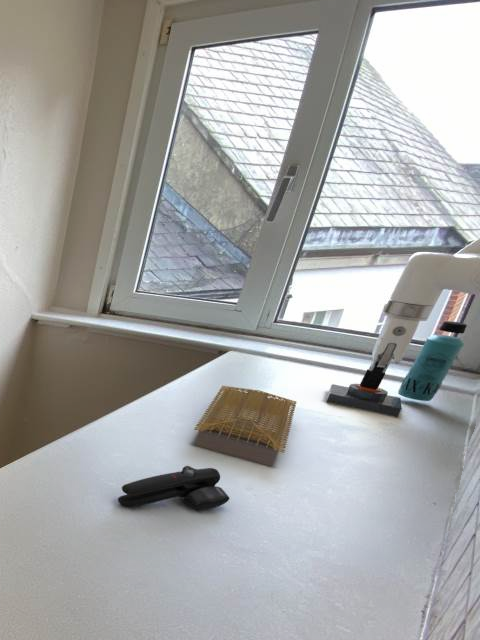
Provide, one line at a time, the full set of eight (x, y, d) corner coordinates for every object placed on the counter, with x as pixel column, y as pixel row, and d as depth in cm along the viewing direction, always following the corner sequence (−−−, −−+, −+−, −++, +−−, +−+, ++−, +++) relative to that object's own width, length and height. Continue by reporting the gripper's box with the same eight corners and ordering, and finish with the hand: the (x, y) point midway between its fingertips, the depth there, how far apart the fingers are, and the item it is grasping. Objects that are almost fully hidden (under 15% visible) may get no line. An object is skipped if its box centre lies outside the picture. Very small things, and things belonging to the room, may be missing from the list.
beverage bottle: (389, 395, 140) (430, 317, 131) (423, 400, 137) (467, 321, 128) (399, 403, 134) (443, 322, 125) (434, 409, 132) (481, 327, 123)
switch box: (396, 406, 133) (404, 390, 131) (397, 417, 126) (406, 401, 124) (328, 392, 140) (335, 377, 138) (326, 401, 133) (333, 386, 132)
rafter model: (276, 469, 99) (290, 439, 97) (188, 445, 108) (198, 416, 105) (290, 416, 124) (301, 390, 121) (217, 399, 132) (226, 375, 129)
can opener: (198, 488, 92) (209, 458, 90) (231, 510, 86) (244, 479, 83) (103, 493, 89) (112, 463, 87) (130, 517, 83) (140, 485, 80)
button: (376, 394, 132) (380, 387, 131) (376, 398, 129) (380, 391, 129) (355, 390, 134) (358, 383, 134) (354, 394, 132) (358, 387, 131)
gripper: (432, 318, 116) (389, 399, 124) (427, 309, 126) (388, 384, 134) (385, 312, 120) (347, 390, 128) (384, 303, 130) (349, 376, 138)
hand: (368, 387), depth 131 cm, fingers closed
